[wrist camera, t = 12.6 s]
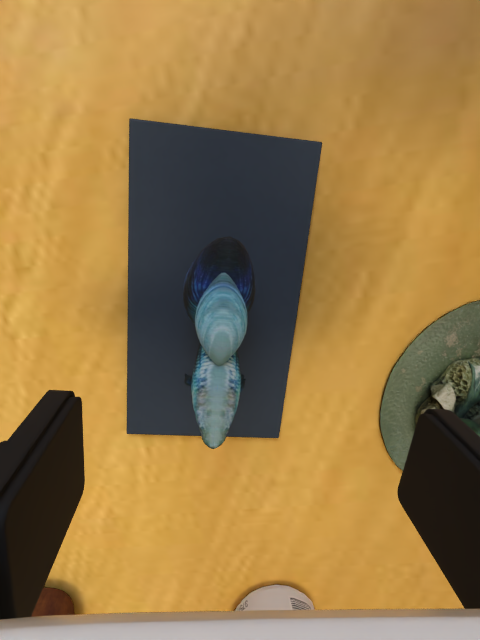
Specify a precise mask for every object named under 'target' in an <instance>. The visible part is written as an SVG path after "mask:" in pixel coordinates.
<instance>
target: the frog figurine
mask: <svg viewBox="0 0 480 640" xmlns="http://www.w3.org/2000/svg"><path fill="white" fill-rule="evenodd" d="M427 409H447V410H450V411H452V412H453V413H454V414H455V415H457V416H458V417H459V418H460V419H461V420H462V421H463V422H464V423H465V424H466V425H468V426H469V427H470V428H471V429H472V430H473V431H474V432H475V433H476V434H477V435H479V436H480V301H476V302H472V303H469V304H466V305H464V306H462V307H460V308H458V309H456V310H454V311H452V312H449V313H448V314H446V315H445V316H443V317H442V318H440V319H439V320H437V321H436V322H434V323H433V324H431V325H430V326H429V327H428V328H426V329H425V330H424V331H423V332H422V333H421V334H420V335H419V336H418V337H417V338H416V339H415V340H414V341H413V342H412V343H411V345H410V346H409V347H408V348H407V350H406V351H405V352H404V354H403V355H402V357H401V358H400V359H399V361H398V362H397V364H396V365H395V366H394V368H393V370H392V372H391V375H390V377H389V380H388V383H387V385H386V388H385V392H384V396H383V400H382V406H381V411H380V427H381V432H382V436H383V439H384V443H385V446H386V448H387V451H388V453H389V455H390V457H391V458H392V460H393V461H394V463H395V464H396V465H397V466H398V467H399V468H400V469H401V470H402V471H403V469H404V466H405V462H406V459H407V455H408V452H409V448H410V445H411V441H412V438H413V435H414V431H415V428H416V424H417V421H418V418H419V416H420V415H421V414H422V413H424V412H425V411H426V410H427Z"/></svg>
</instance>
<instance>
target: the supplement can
mask: <svg viewBox="0 0 480 640" xmlns="http://www.w3.org/2000/svg"><path fill="white" fill-rule="evenodd" d="M259 610H315V609H314V606H313V603H312V601H311V600H310V599H309V598H308V597H307V596H306V595H305V594H304V593H301V592H299V591H298V590H297V589H294V588H292V587H289V586H284V585H271V586H265V587H262V588H259V589H257V590H255V591H253V592H251V593H250V594H249V595H247V596H246V597H245V598H244V599H243V600H242V601H241V603H240V604H239V605H238V606H237V608H236V609H235V611H259Z"/></svg>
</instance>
